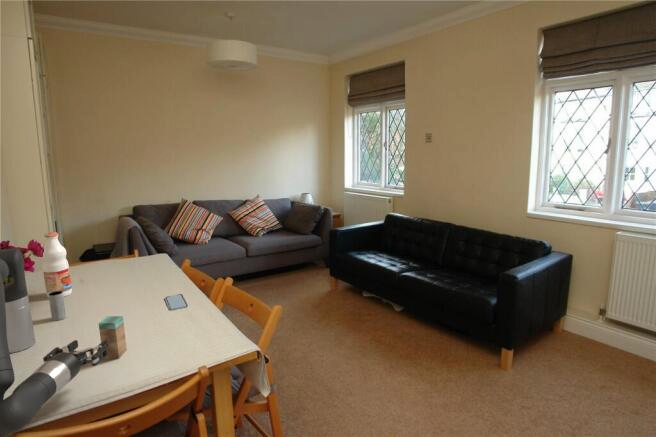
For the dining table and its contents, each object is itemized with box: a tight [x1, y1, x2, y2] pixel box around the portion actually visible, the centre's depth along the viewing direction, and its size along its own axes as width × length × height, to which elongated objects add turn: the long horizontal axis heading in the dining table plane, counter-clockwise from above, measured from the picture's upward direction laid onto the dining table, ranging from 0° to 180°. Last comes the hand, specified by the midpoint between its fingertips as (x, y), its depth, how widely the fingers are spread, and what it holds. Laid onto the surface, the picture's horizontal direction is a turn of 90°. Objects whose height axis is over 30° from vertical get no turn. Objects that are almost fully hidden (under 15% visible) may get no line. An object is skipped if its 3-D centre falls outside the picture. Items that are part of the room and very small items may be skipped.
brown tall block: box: [98, 315, 128, 360], centre depth 126 cm, size 5×5×12 cm
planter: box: [48, 291, 67, 322], centre depth 152 cm, size 4×4×10 cm
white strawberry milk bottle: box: [41, 231, 73, 299], centre depth 174 cm, size 9×9×28 cm
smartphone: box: [164, 293, 189, 312], centre depth 168 cm, size 7×1×15 cm
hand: (91, 342), depth 114 cm, fingers open, 8 cm apart
